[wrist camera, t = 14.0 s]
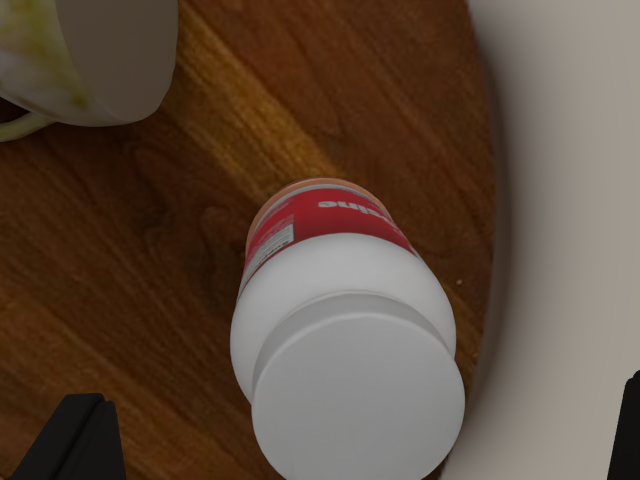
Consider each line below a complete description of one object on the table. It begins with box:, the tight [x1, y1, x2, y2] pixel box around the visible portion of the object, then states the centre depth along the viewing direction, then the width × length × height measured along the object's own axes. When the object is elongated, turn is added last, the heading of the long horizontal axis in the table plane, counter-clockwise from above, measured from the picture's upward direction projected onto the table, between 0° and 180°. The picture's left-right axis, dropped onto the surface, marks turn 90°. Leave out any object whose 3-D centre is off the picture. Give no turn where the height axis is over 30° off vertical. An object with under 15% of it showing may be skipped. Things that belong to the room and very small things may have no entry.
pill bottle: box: [230, 184, 465, 480], centre depth 17 cm, size 6×6×11 cm
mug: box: [0, 0, 178, 142], centre depth 17 cm, size 8×10×10 cm
